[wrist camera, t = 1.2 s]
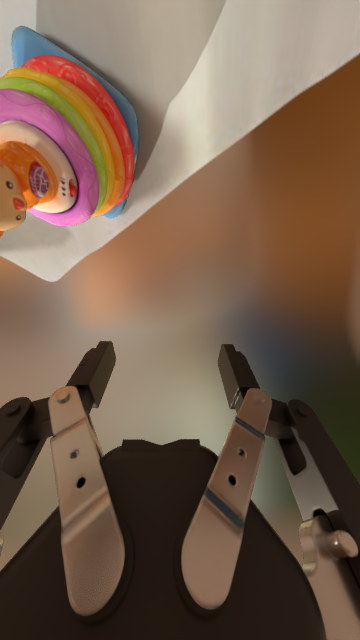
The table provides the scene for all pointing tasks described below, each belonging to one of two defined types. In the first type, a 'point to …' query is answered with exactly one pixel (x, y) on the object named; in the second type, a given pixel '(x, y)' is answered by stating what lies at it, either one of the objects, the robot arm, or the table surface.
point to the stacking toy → (61, 138)
